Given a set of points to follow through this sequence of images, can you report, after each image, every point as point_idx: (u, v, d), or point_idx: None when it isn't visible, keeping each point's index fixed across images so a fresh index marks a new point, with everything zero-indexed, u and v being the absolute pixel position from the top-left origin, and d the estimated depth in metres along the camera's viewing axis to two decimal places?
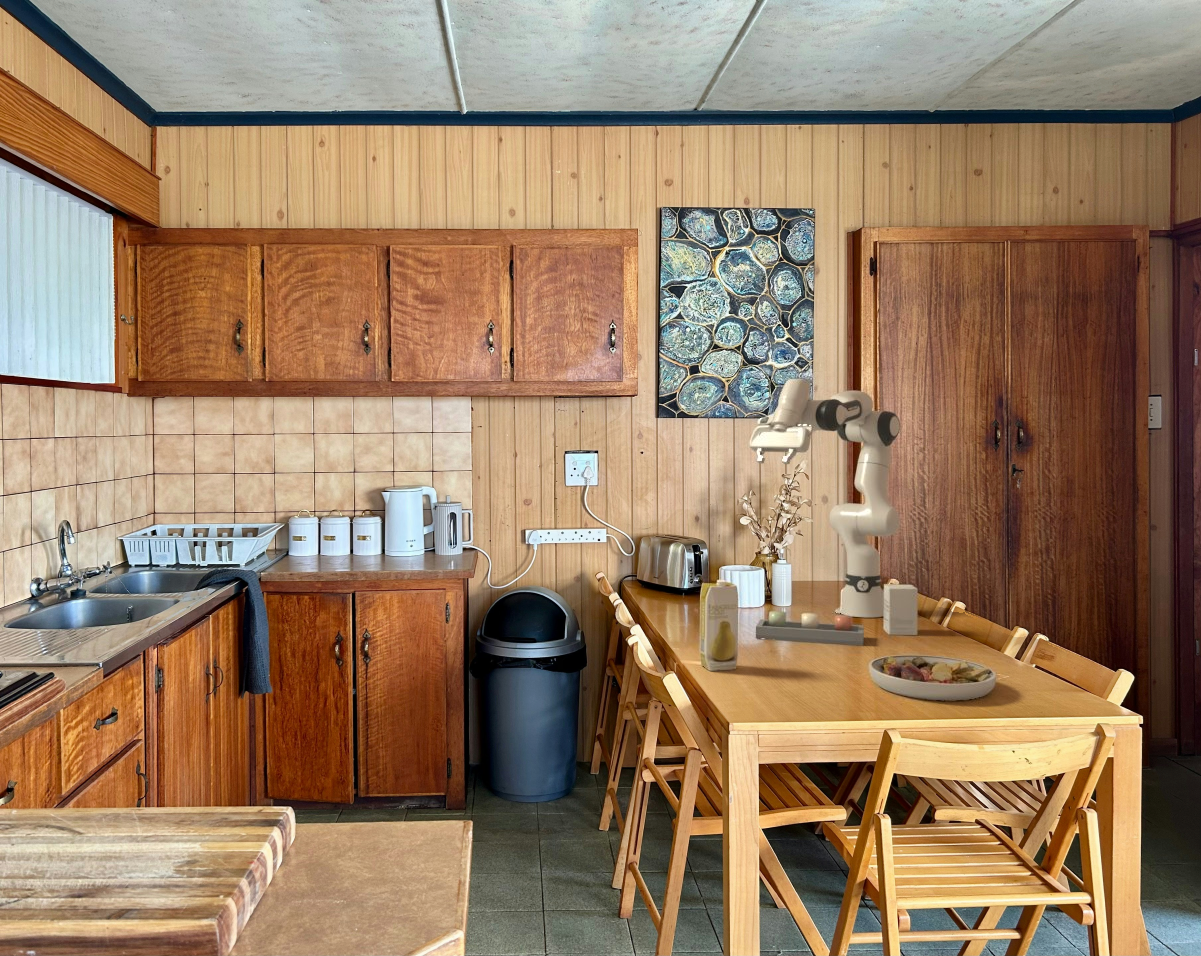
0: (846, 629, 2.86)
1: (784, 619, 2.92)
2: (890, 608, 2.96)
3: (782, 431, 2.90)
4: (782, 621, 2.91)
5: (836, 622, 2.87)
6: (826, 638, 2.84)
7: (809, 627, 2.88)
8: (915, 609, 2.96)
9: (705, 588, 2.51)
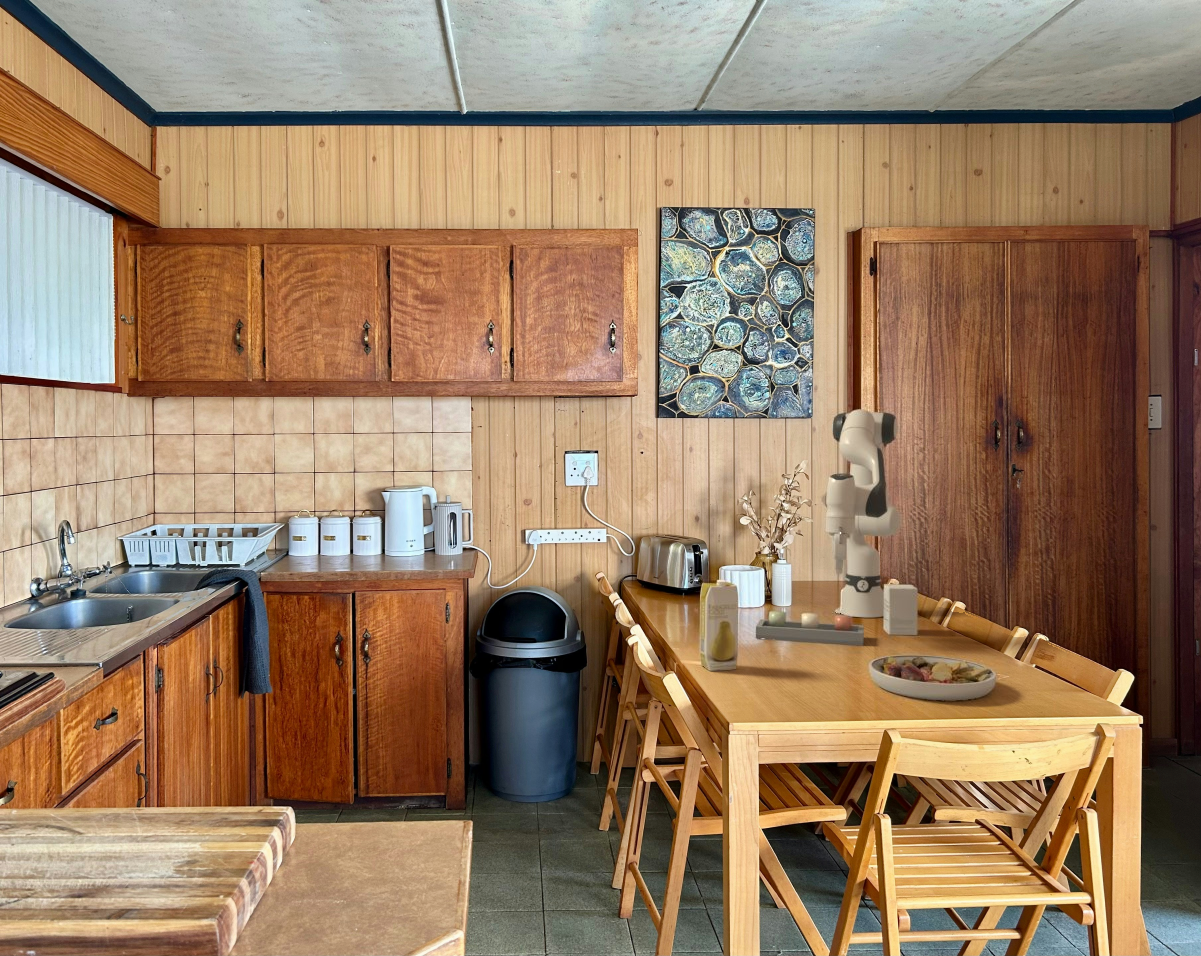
0: (846, 629, 2.86)
1: (784, 619, 2.92)
2: (890, 608, 2.96)
3: None
4: (782, 621, 2.91)
5: (836, 622, 2.87)
6: (826, 638, 2.84)
7: (809, 627, 2.88)
8: (915, 609, 2.96)
9: (705, 588, 2.51)
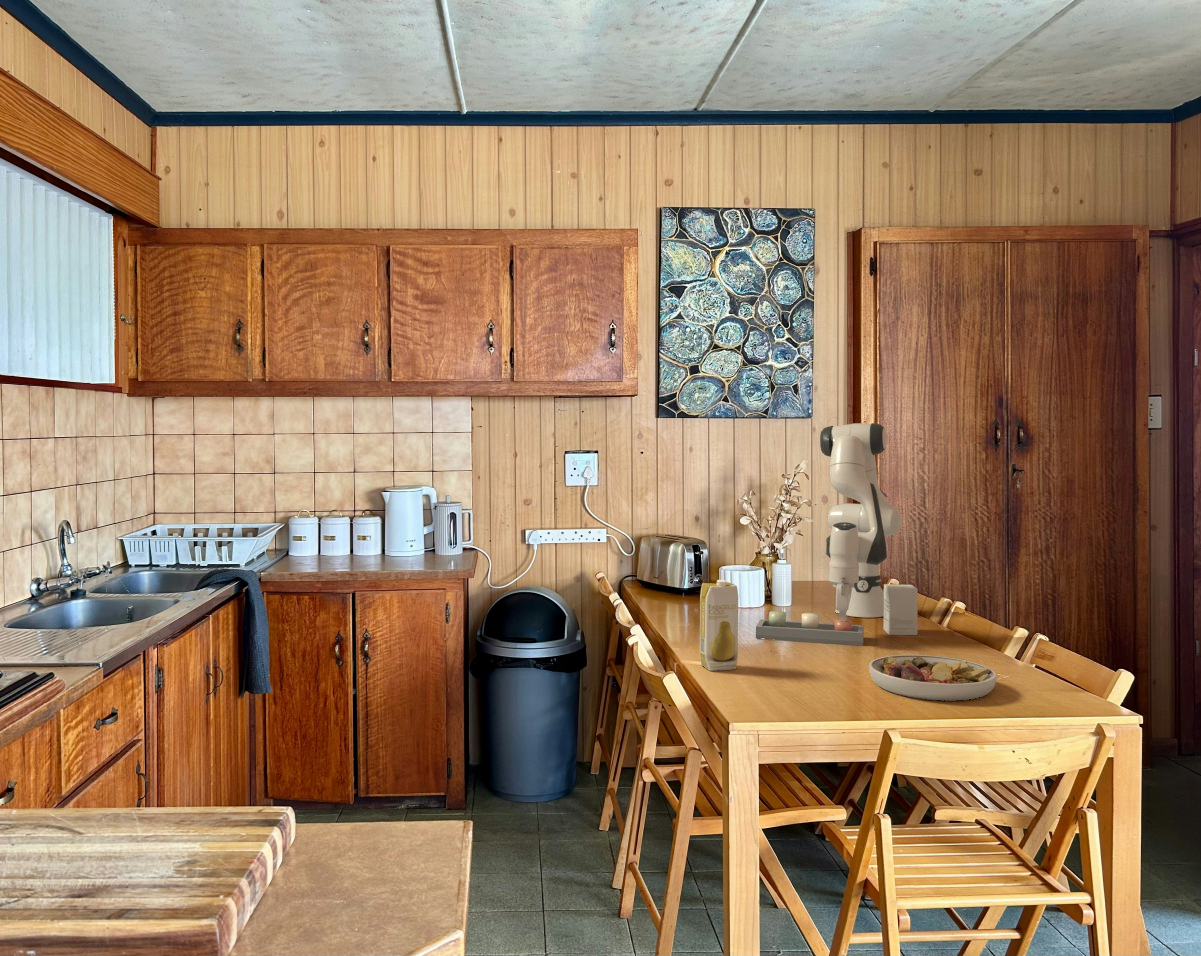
0: None
1: (784, 619, 2.92)
2: (890, 608, 2.96)
3: None
4: (782, 621, 2.91)
5: (836, 627, 2.87)
6: (826, 638, 2.84)
7: (809, 627, 2.88)
8: (915, 609, 2.96)
9: (705, 588, 2.51)
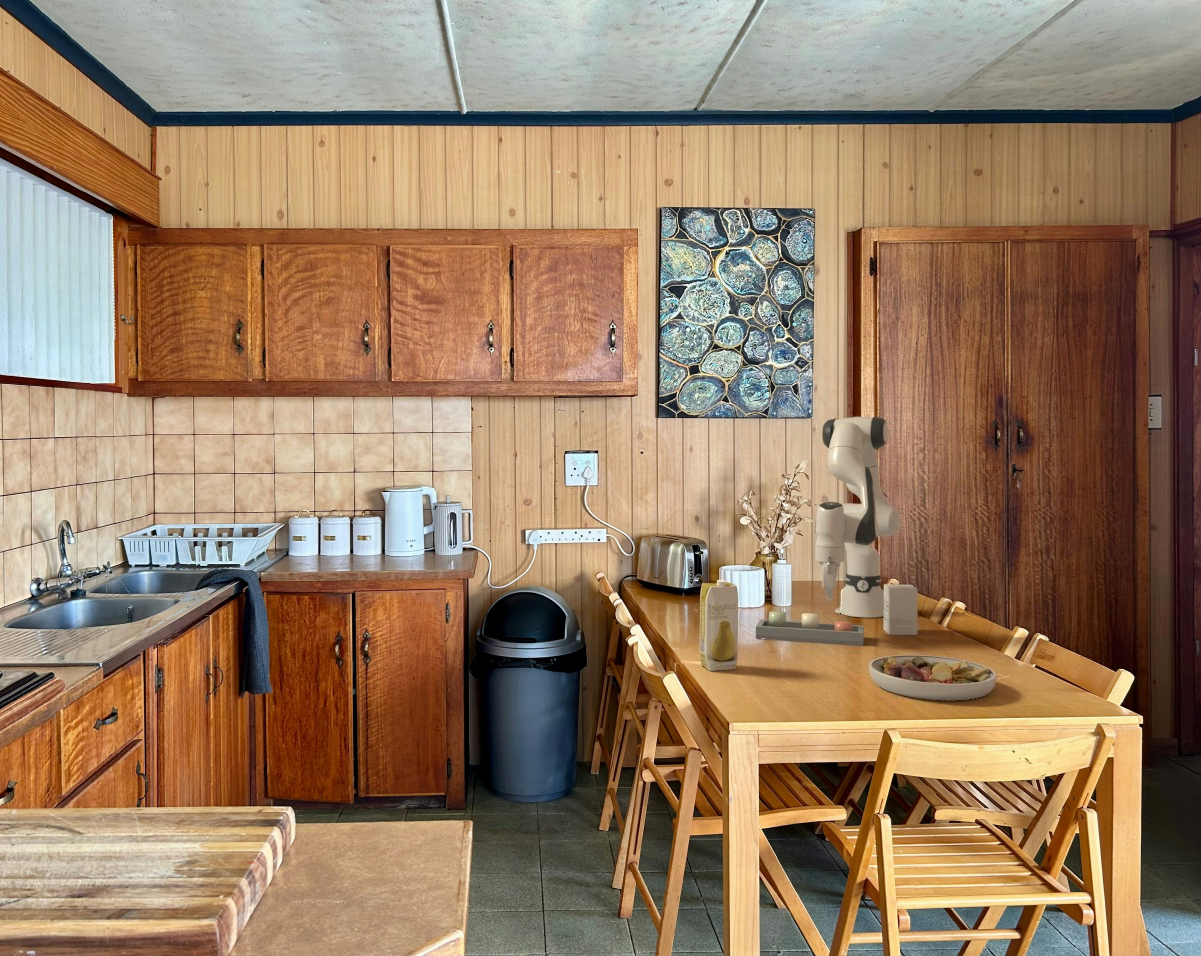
0: None
1: (784, 619, 2.92)
2: (890, 608, 2.96)
3: None
4: (782, 621, 2.91)
5: (836, 628, 2.87)
6: (826, 638, 2.84)
7: (809, 627, 2.88)
8: (915, 609, 2.96)
9: (705, 588, 2.51)
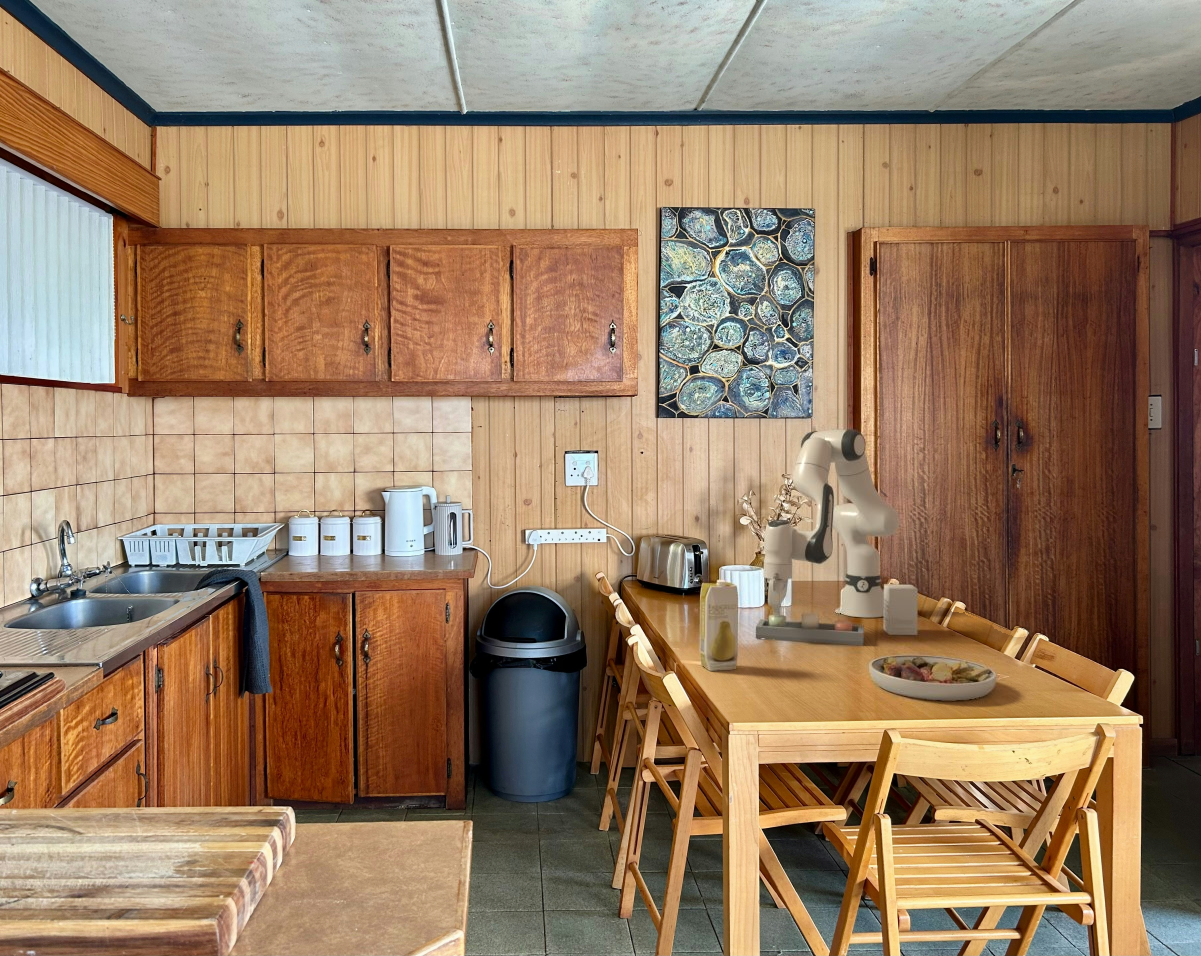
0: None
1: (784, 623, 2.92)
2: (890, 608, 2.96)
3: None
4: (782, 625, 2.91)
5: (836, 628, 2.87)
6: (826, 638, 2.84)
7: (809, 627, 2.88)
8: (915, 609, 2.96)
9: (705, 588, 2.51)
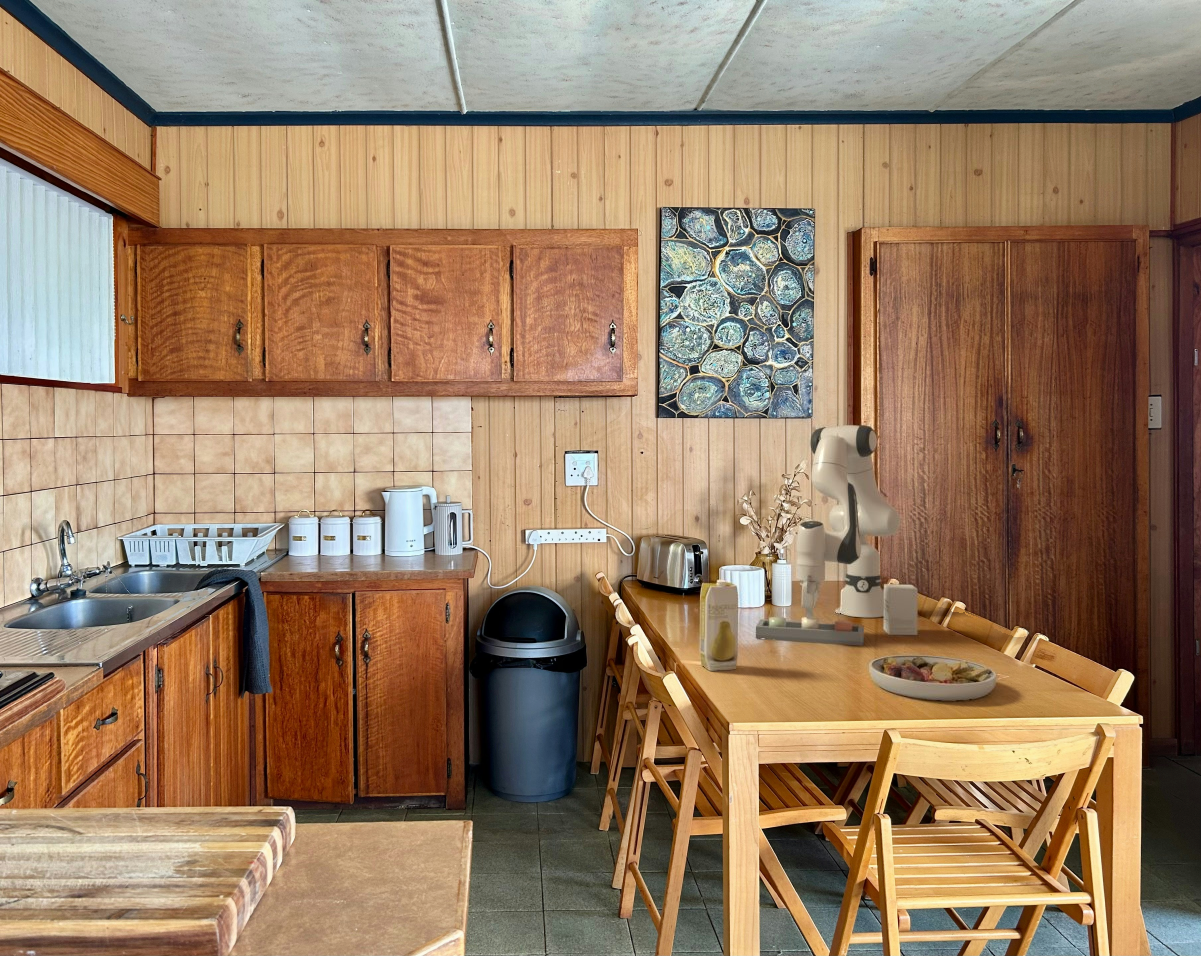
0: None
1: (784, 625, 2.92)
2: (890, 608, 2.96)
3: None
4: None
5: (836, 628, 2.87)
6: (826, 638, 2.84)
7: None
8: (915, 609, 2.96)
9: (705, 588, 2.51)
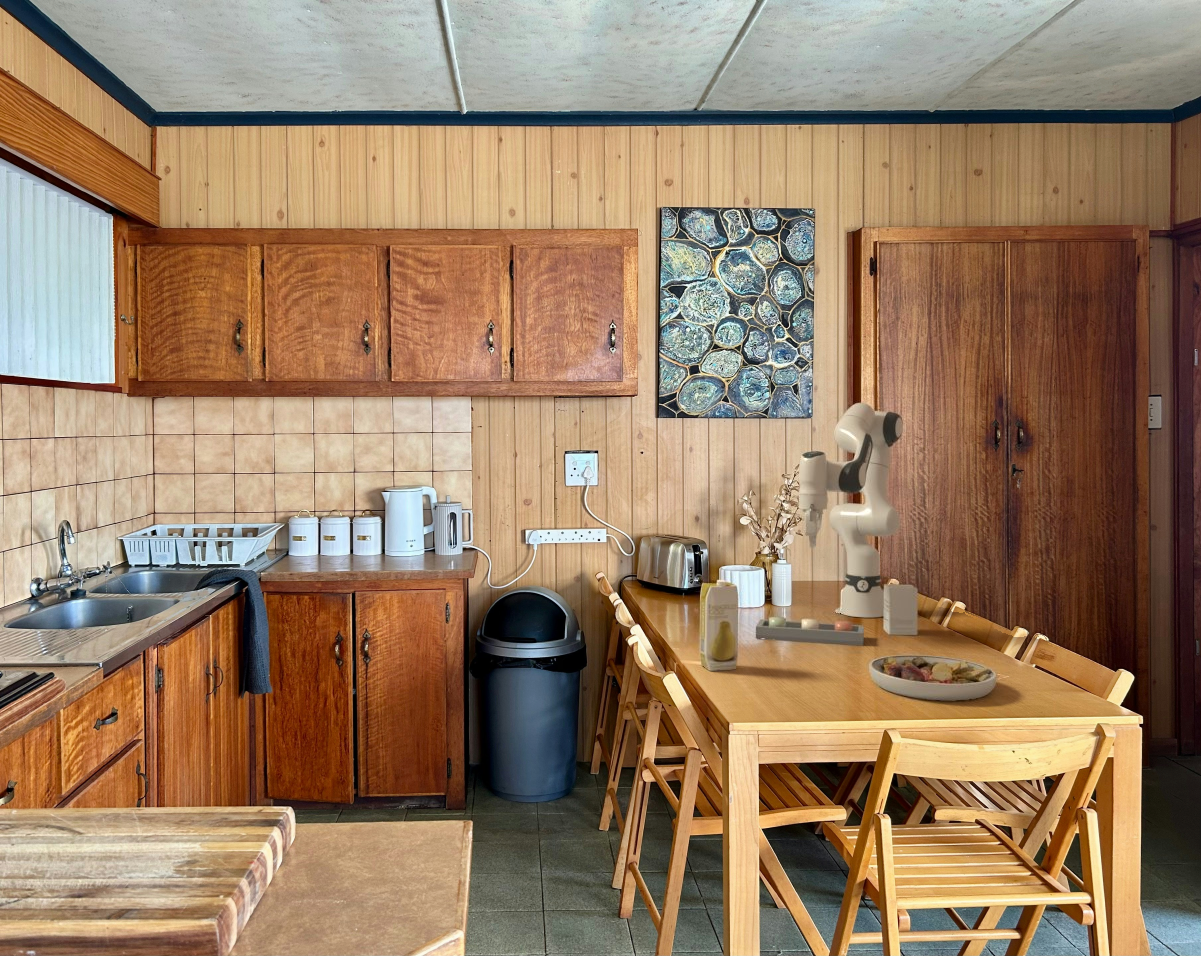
0: None
1: (784, 625, 2.92)
2: (890, 608, 2.96)
3: None
4: None
5: (836, 628, 2.87)
6: (826, 638, 2.84)
7: None
8: (915, 609, 2.96)
9: (705, 588, 2.51)
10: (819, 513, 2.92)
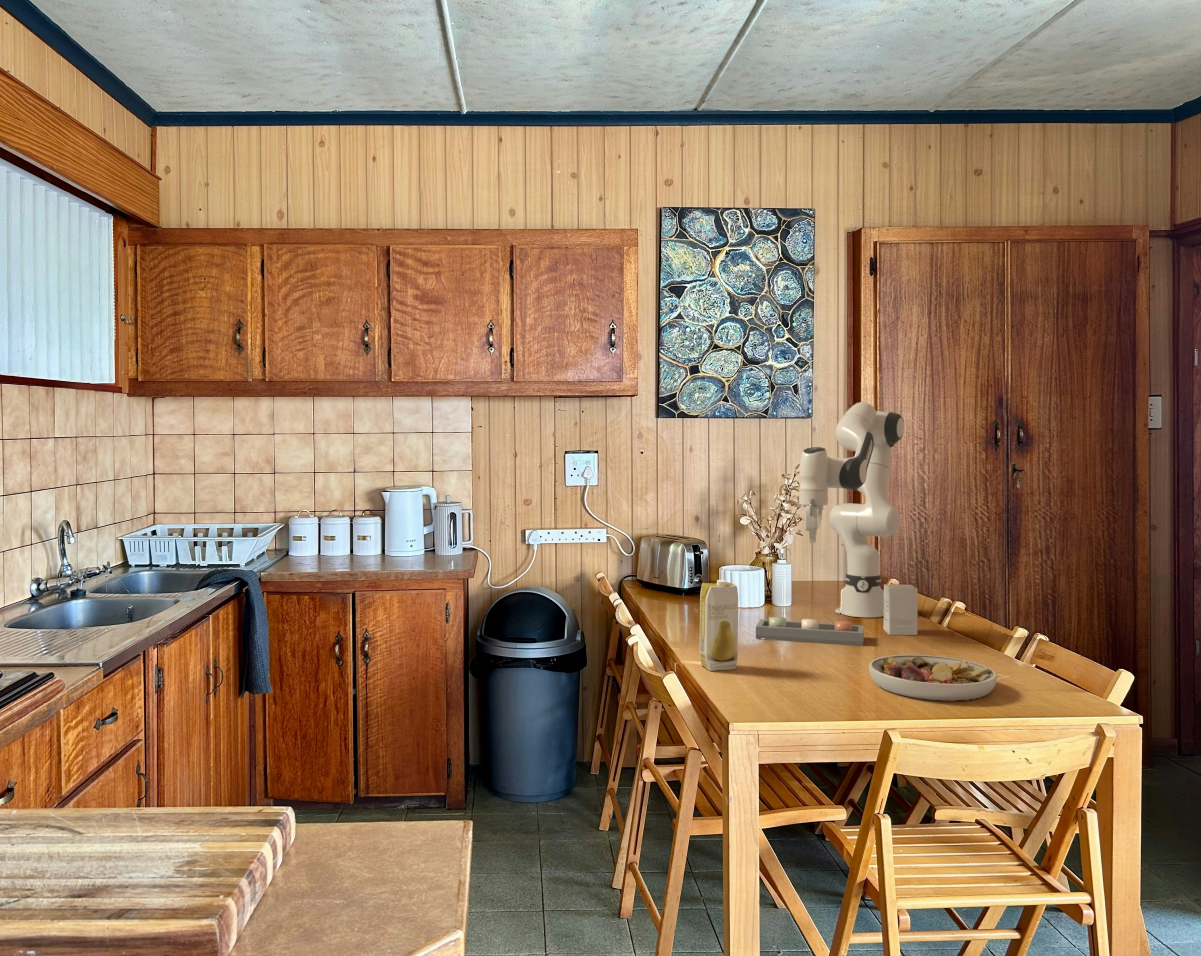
0: None
1: (784, 625, 2.92)
2: (890, 608, 2.96)
3: None
4: None
5: (836, 628, 2.87)
6: (826, 638, 2.84)
7: None
8: (915, 609, 2.96)
9: (705, 588, 2.51)
10: (819, 509, 2.92)
